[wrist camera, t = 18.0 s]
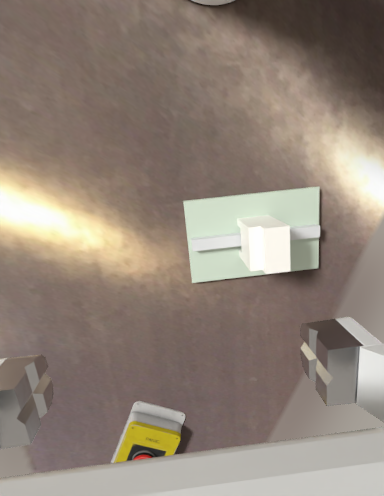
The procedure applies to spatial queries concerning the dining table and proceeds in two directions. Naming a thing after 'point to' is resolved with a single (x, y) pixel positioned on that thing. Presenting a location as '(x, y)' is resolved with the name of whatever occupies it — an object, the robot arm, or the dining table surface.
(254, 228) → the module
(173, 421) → the emergency button
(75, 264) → the dining table surface
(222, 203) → the rail board
